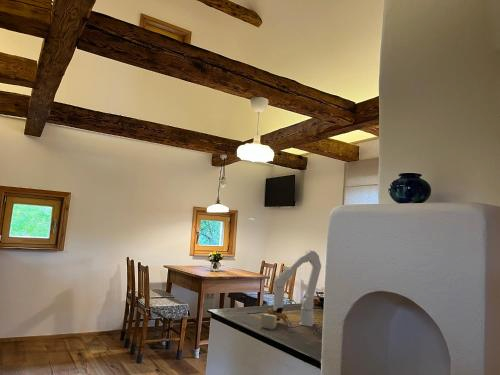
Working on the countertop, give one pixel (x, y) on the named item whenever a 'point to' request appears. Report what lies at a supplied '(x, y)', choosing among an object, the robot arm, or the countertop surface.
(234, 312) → the countertop surface
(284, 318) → the lion figurine
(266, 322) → the book row
